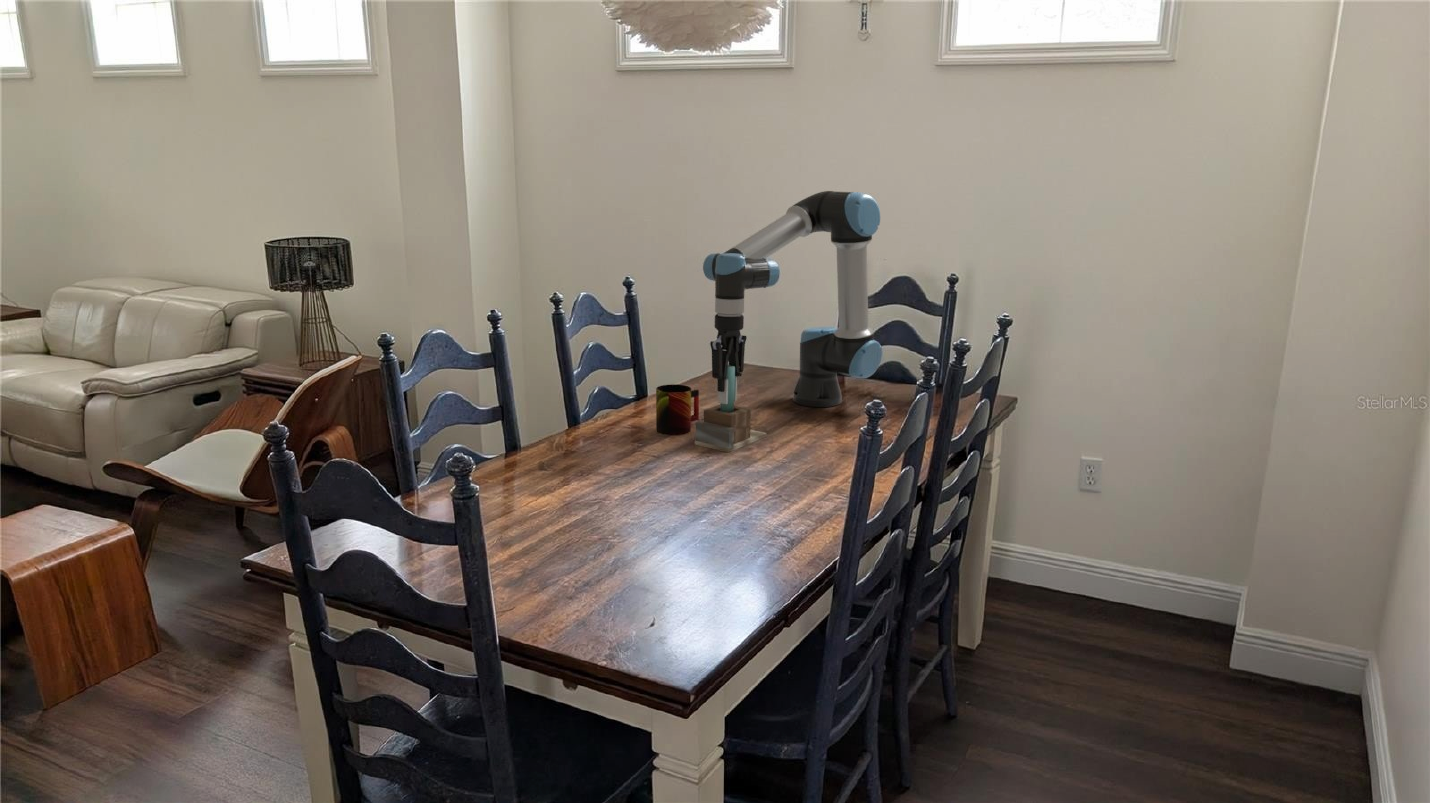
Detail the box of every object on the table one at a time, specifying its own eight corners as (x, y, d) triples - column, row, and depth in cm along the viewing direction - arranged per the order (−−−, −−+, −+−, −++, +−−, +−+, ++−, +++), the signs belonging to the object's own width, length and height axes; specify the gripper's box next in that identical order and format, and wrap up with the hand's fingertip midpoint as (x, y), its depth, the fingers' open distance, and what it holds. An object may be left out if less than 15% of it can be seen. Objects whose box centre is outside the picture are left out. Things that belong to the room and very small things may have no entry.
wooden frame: (733, 429, 280) (733, 408, 278) (766, 436, 274) (767, 415, 272) (694, 444, 266) (694, 422, 264) (728, 452, 259) (729, 430, 258)
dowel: (725, 408, 268) (726, 364, 265) (736, 410, 266) (737, 366, 263) (717, 411, 265) (718, 366, 262) (728, 413, 263) (729, 368, 260)
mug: (699, 423, 285) (699, 382, 282) (685, 436, 272) (685, 394, 269) (666, 420, 288) (666, 380, 285) (651, 433, 275) (651, 391, 272)
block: (722, 431, 274) (723, 403, 272) (750, 437, 269) (750, 408, 267) (703, 439, 267) (703, 410, 265) (730, 445, 262) (731, 415, 260)
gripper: (735, 308, 268) (733, 393, 274) (698, 316, 255) (697, 405, 261) (759, 311, 264) (756, 397, 270) (722, 319, 251) (720, 410, 256)
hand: (727, 401), depth 265 cm, fingers closed on dowel, 3 cm apart
